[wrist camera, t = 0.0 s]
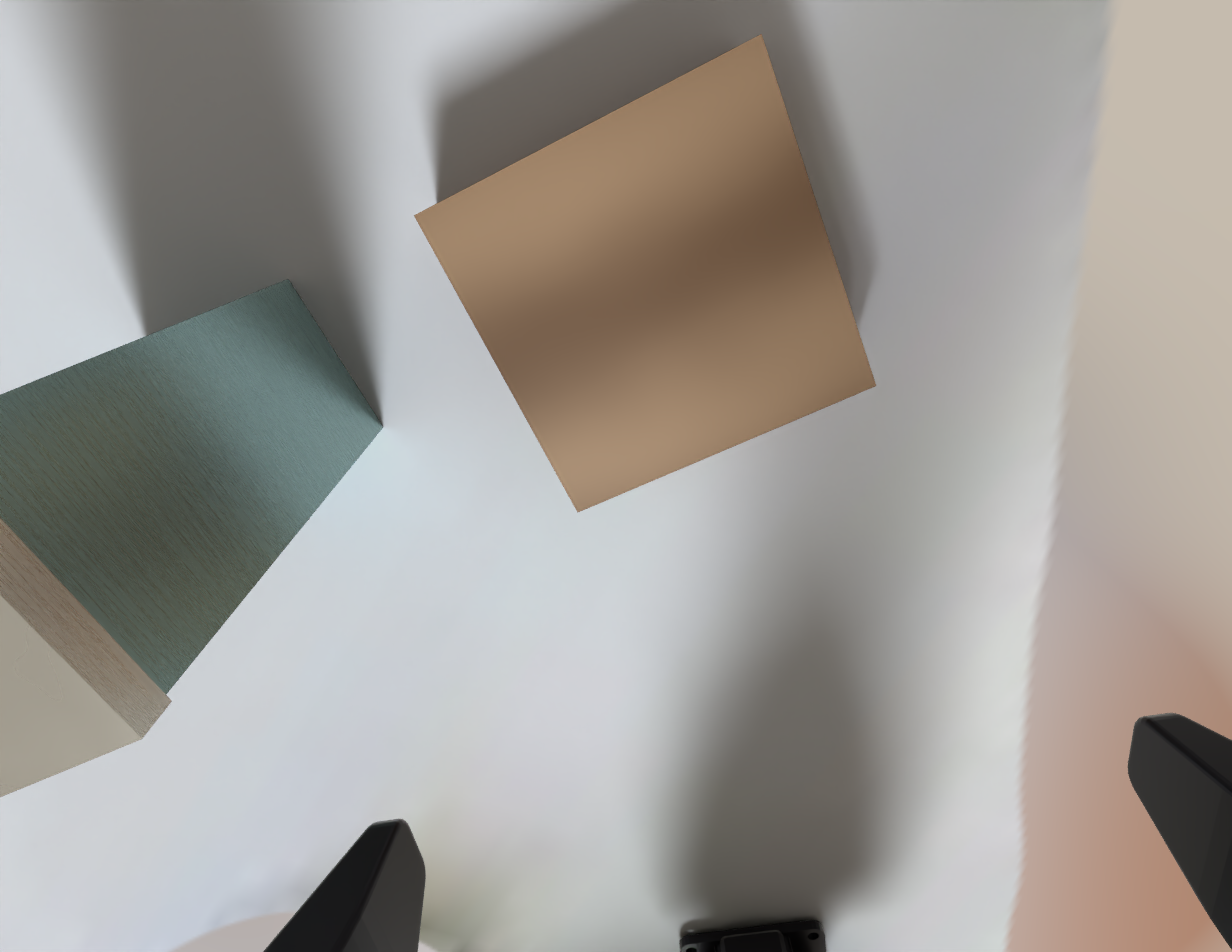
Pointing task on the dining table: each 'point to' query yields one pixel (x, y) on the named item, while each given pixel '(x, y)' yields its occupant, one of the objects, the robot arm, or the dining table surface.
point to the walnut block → (657, 280)
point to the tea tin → (154, 514)
